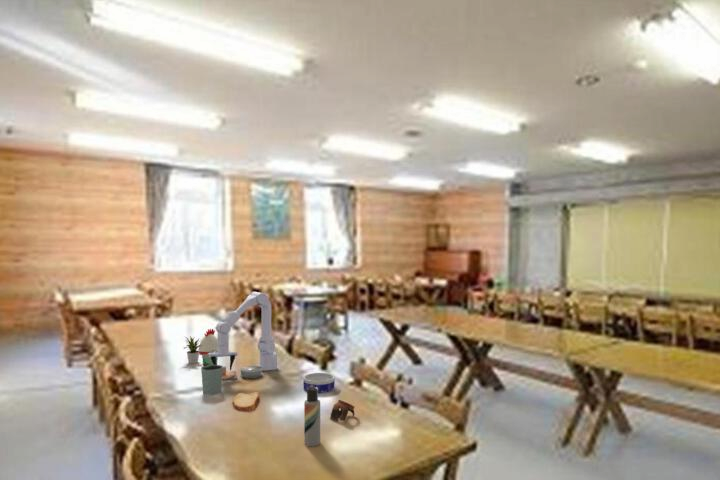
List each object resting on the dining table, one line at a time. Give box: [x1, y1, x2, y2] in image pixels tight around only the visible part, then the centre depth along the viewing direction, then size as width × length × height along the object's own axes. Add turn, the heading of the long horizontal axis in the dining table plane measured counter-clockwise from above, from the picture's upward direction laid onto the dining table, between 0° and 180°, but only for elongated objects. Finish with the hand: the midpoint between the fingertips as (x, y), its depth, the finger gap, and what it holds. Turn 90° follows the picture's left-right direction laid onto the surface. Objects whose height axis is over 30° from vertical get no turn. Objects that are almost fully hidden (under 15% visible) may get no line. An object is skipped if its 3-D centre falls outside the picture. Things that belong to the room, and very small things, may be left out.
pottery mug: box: [330, 399, 355, 423], centre depth 200 cm, size 12×10×8 cm
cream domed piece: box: [197, 328, 218, 355], centre depth 320 cm, size 14×14×15 cm
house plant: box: [183, 335, 203, 364], centre depth 293 cm, size 14×14×16 cm
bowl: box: [240, 365, 263, 379], centre depth 263 cm, size 11×11×4 cm
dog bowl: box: [302, 372, 336, 394], centre depth 241 cm, size 15×15×6 cm
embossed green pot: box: [200, 364, 223, 396], centre depth 235 cm, size 10×10×12 cm
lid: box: [222, 365, 235, 379], centre depth 261 cm, size 12×12×5 cm
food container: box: [201, 350, 219, 367], centre depth 276 cm, size 12×6×10 cm, turn 168°
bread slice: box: [231, 391, 260, 413], centre depth 220 cm, size 18×18×4 cm
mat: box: [222, 370, 238, 381], centre depth 262 cm, size 16×14×1 cm
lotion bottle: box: [303, 387, 321, 447], centre depth 176 cm, size 6×6×20 cm
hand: (223, 370), depth 261 cm, fingers open, 7 cm apart
